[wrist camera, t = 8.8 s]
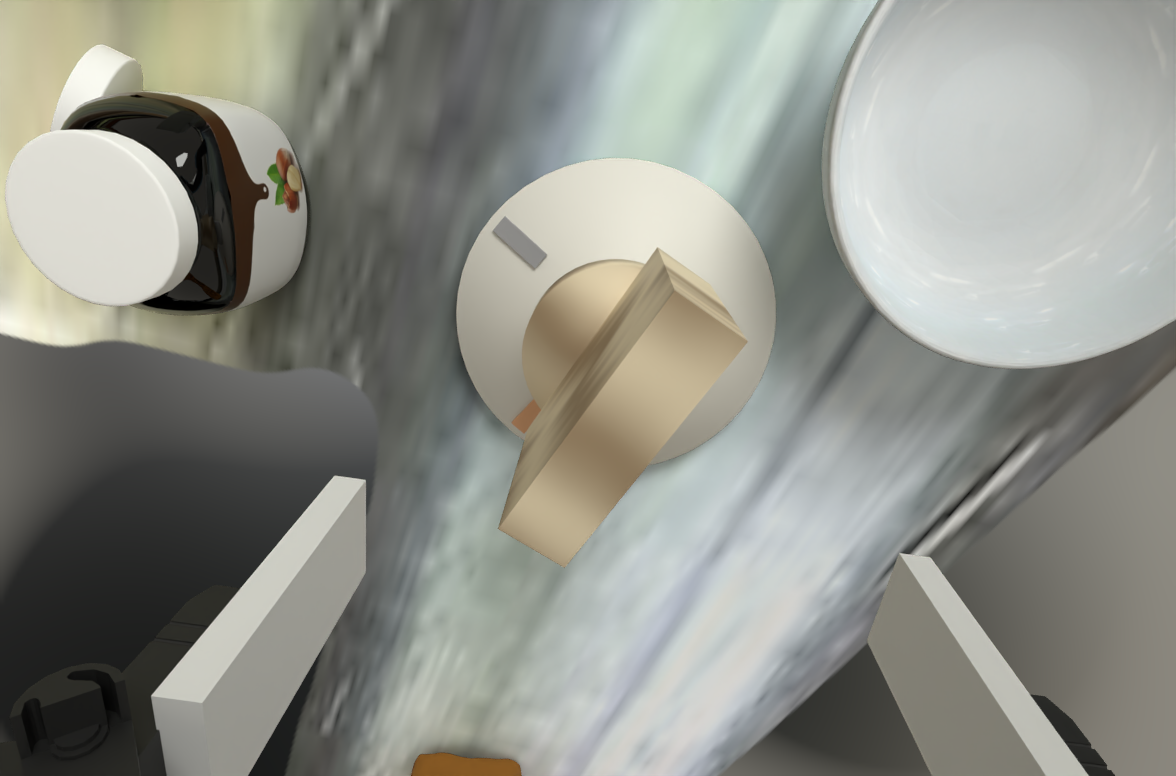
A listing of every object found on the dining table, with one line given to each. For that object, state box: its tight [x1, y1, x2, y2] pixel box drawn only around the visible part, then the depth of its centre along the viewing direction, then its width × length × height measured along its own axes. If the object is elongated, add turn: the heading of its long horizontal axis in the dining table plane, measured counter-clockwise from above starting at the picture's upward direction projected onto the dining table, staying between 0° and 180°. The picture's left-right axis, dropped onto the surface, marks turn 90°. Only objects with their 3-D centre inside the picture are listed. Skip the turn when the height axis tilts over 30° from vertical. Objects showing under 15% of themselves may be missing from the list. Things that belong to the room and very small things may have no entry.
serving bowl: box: [821, 0, 1176, 369], centre depth 31 cm, size 21×21×7 cm
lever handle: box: [498, 247, 748, 568], centre depth 28 cm, size 12×9×11 cm
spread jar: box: [5, 44, 310, 315], centre depth 31 cm, size 12×11×12 cm
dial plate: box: [456, 158, 776, 465], centre depth 36 cm, size 18×18×5 cm
